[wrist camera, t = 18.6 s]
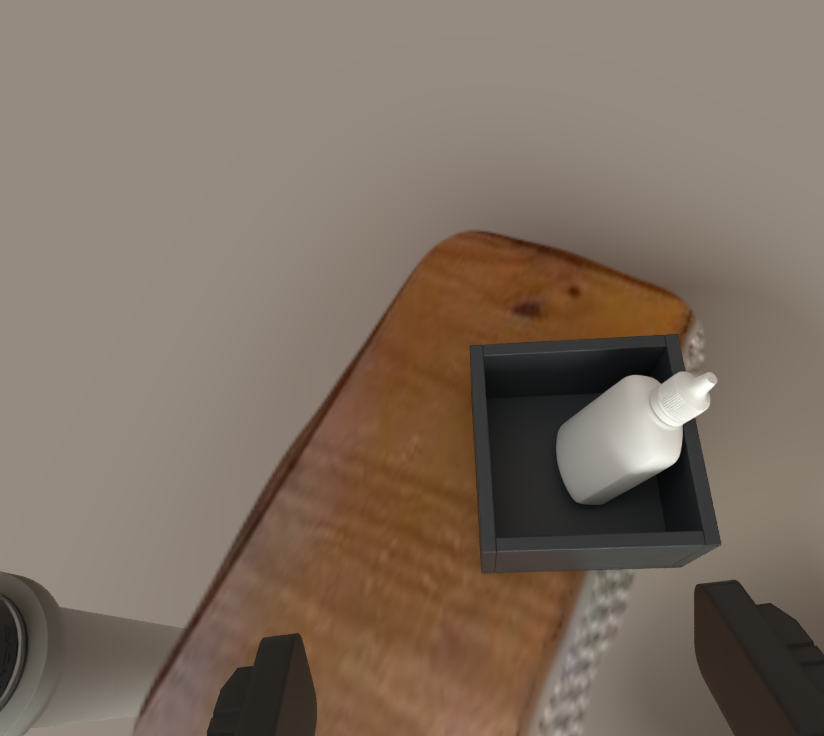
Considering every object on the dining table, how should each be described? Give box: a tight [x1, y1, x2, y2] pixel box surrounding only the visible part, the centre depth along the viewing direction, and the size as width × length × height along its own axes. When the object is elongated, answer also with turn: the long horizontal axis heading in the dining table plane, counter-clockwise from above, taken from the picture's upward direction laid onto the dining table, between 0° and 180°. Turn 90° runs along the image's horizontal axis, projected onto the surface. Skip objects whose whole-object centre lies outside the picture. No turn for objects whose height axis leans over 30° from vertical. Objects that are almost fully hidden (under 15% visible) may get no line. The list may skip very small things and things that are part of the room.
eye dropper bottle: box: [556, 372, 717, 505], centre depth 39 cm, size 4×6×12 cm
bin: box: [470, 334, 721, 573], centre depth 42 cm, size 13×13×8 cm
